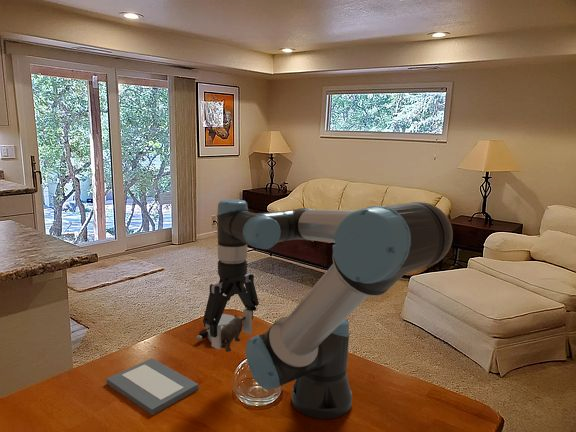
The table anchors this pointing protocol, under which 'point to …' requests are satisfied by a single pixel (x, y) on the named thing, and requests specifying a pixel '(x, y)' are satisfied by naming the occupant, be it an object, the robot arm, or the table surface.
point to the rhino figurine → (231, 332)
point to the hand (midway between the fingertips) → (232, 339)
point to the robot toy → (223, 321)
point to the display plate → (152, 385)
